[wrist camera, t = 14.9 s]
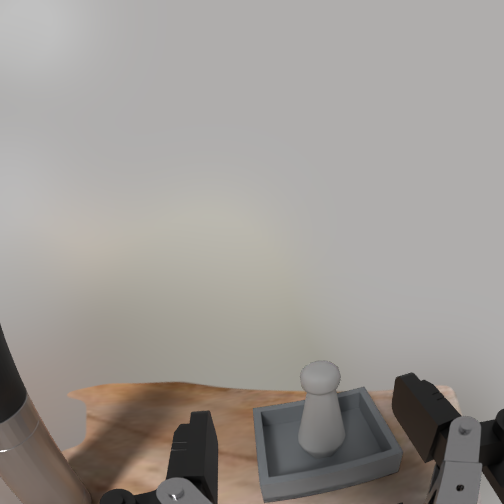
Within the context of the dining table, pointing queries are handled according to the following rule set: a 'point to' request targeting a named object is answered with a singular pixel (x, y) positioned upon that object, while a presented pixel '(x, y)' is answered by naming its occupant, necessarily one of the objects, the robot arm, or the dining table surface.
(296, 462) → the tray
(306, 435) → the salt shaker
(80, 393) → the dining table surface
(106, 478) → the dining table surface
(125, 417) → the dining table surface
